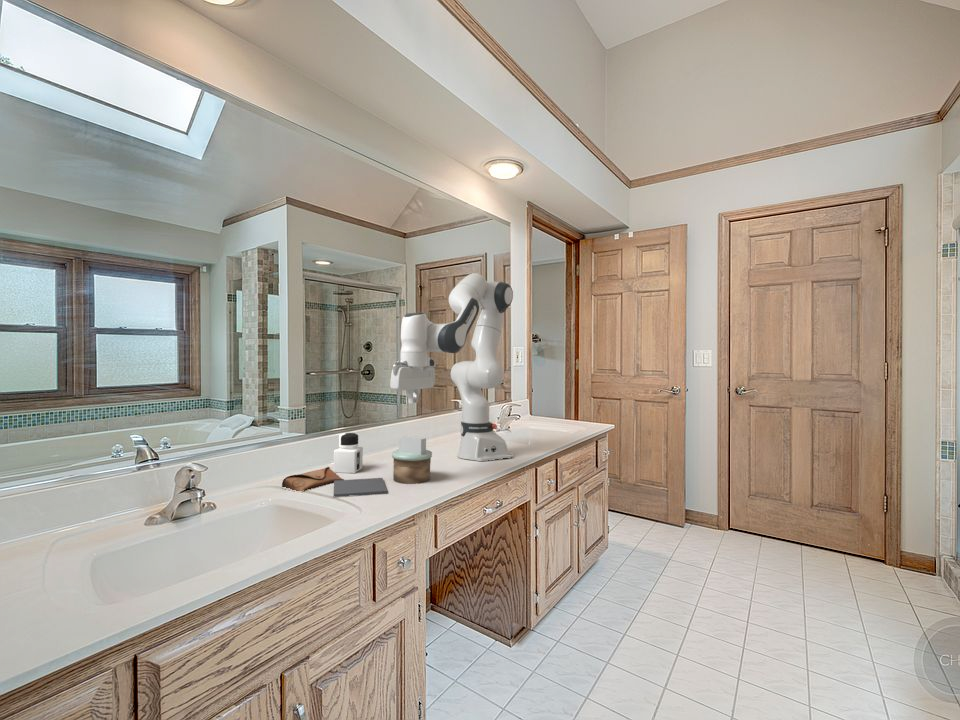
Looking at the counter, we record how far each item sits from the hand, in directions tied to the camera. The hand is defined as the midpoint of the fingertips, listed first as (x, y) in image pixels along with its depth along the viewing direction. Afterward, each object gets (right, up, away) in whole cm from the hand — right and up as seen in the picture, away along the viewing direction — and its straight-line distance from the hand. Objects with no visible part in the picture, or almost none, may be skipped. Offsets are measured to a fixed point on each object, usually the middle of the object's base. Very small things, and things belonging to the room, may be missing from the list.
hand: (413, 403), depth 152 cm
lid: (0, -19, 0) cm, 19 cm away
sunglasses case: (-30, -25, -8) cm, 40 cm away
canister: (0, -25, 0) cm, 25 cm away
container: (-24, -25, +10) cm, 36 cm away
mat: (-15, -25, -12) cm, 31 cm away
